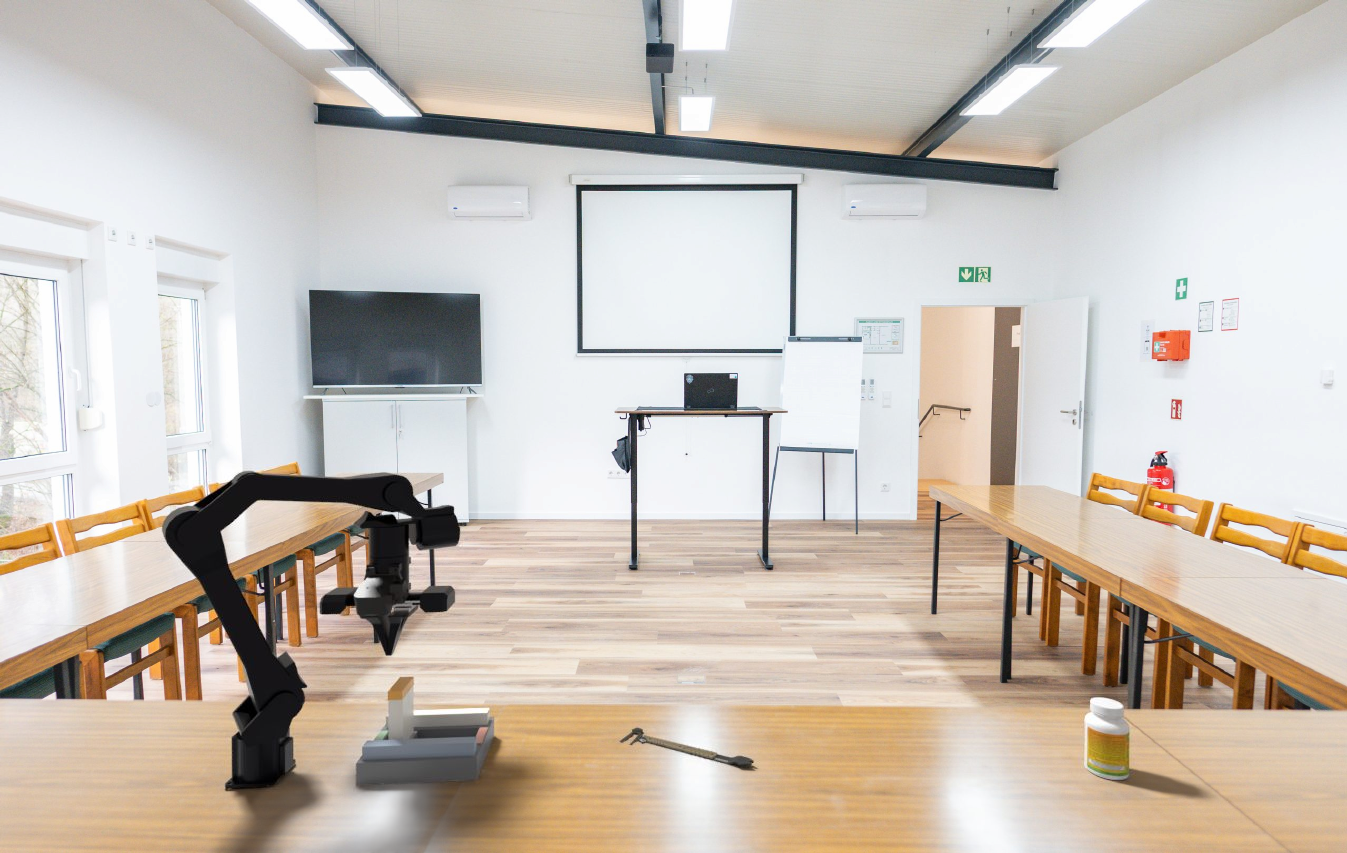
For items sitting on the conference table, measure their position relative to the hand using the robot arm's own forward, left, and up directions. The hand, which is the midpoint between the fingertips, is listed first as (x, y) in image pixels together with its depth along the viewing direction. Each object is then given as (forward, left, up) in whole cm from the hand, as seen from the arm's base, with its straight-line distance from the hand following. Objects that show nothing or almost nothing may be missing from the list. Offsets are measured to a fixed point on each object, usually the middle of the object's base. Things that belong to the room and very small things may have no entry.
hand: (389, 654), depth 105 cm
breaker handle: (+4, -7, -11) cm, 14 cm away
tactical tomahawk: (+45, -8, -14) cm, 48 cm away
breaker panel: (+8, -7, -13) cm, 17 cm away
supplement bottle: (+104, -18, -13) cm, 106 cm away
